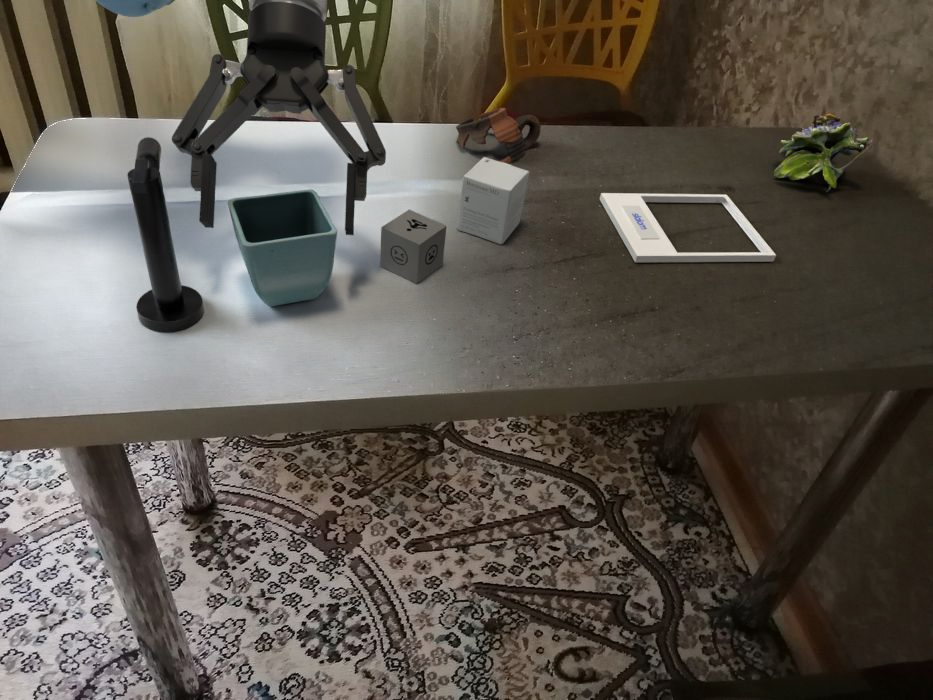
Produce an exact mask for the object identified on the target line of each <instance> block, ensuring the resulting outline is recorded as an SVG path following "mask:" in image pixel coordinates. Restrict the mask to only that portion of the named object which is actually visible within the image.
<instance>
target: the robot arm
mask: <svg viewBox="0 0 933 700" xmlns="http://www.w3.org/2000/svg"><path fill="white" fill-rule="evenodd" d="M175 1H176V0H95V2H96V3H98V4H99V5H100V6H102V7H103V8H104V9H106V10H108V11H109V12H112V13H113V14H116V15H118V16H123V17H127V18H139V17H140V18H141V17H144V16H147V15H149V14H151V13H153V12H155V11H157V10H160V9H162V8H164V7H165V6H170V5H171V4H172V3H174V2H175ZM248 8H249V10H250V11H249V13H248V17H247V18H248V19H247V20H248V21H247V38H246V54H245V57H244V59H243V61H242V62H239V61H234V60H227V59H225V57H224V56H223V54H220V53H216V54H214V55H213V56H212V57H211V60H210V61H211V62H210V67H209V72H208V76H207V78H206V79H205V81H204V82H203V84H202V86H201V88H200V89H199V91H198V93H197V94H196V96H195V97H194V99H193V101H192V103H191V104H190V106H189V108H188V109H187V110H186V113H185V114H184V115H183V118H182V119H181V121H180V122H179V124H178V126H177V127H176V129H175V131H174V133H173V134H172V136H171V141H172V143H173V144H174V146H175V147H176V148H177V150H178V151H179V152H180V153H182V154H187V155H189V156H191V161H190V179H189V183H190V185H191V188H192V189H193V190H194V191H195V192H200V198H199V199H200V200H199V217H198V218H199V219H198V220H199V222H200V223H201V225H202V226H203V227H204V228H207V229H208V228H209V229H214V226H215V207H216V205H215V204H216V185H217V184H216V183H217V166H218V165H217V164H218V163H217V161H216V160H215V158H214V156H213V155H214V154H215V153H216V151H218V150H219V149H220V148H221V147H222V146H223V144H224V143H226V141H228V140H229V139H230V138H231V136H233V135H234V133H236V131H237V130H238V129H240V128H241V127H242V126H243V124H245V123H246V122H247V121H248V120H249V119H250V118H251V117H252V116H255V115H257V113H258V112H259V111H260V110H261V109H262V108H264V109H266V110H268V112H269V113H279V112H288V113H290V114H295V115H297V114H299V115H302V112H305V111H307V110H308V111H309V112H310V113H311V114H312V115H313V117H314V118H315V119H316V121H318V122H319V123H320V124H321V126H323V128H324V129H325V131H326V132H327V133H328V134H329V135H330V137H331V138H332V140H333V141H334V142H335V143H336V144H337V146H338V147H339V148H340V149H341V151H342V152H343V153H344V154H345V156H346V157H347V158H348V159H349V161H350V162H347V163H346V186H345V187H346V192H345V213H344V214H345V215H344V230H345V235H346V236H354V231H355V229H354V228H355V207H356V202H357V201H358V202H365V201H366V198H367V188H368V171H369V170H370V169H371V168H373V167H376V166H377V167H381V166H383V165H385V163H386V159H387V150H386V148H385V147H384V144H383V142H382V140H381V137H380V135H379V133H378V131H377V129H376V127H375V124H374V123H373V120H372V118H371V116H370V114H369V111H368V109H367V106H366V104H365V103H364V101H363V99H362V96H361V94H360V92H359V89H358V87H357V79H356V69H355V67H354V66H353V65H352V64H345V65H344V66H343V67H342V69H328V68H327V66H326V40H327V39H326V38H327V26H326V23H325V22H326V20H327V15H328V13H327V11H328V0H248ZM239 77H242V79H243V81H244V82H245V84H246V86H245V87H244V88H243V89H242V90H241V91H240V92H239V93H238V96H237V98H236V99H235V100H234V101H233V102H232V103H231V104H230V105H229V106H228V107H227V108H226V109H224V111H223V112H221V114H220V115H219V116H218V117H217V118H216V119H215V120H214V121H213V122H211V124H210V125H208V127H206V124H207V123H208V121H209V120H210V118H211V116H212V115H213V113H214V111H215V110H216V108H217V106H218V105H219V103H220V102H221V100H222V99H223V97H224V94H225V92H226V90H227V86H229V85H230V86H231V85H233V83H234V82H235V80H236V79H237V78H239ZM329 84H330V85H333V86H334V87H335V89H336V91H337V92H338V93H339V94H344V98H345V102H346V104H347V107H348V109H349V111H350V113H351V115H352V118H353V120H354V122H355V124H356V126H357V129H358V131H359V133H360V135H361V137H362V139H363V141H364V143H365V145H366V148H367V151H364V150H363V148H362V147H361V146H360V144H359V143H358V142H357V140H356V139H355V137H353V135H352V134H351V133H350V132H349V131H348V129H347V128H346V127H345V126H344V124H343V123H342V122H341V120H340V119H339V118H338V117H337V115H336V114H335V113H334V111H333V110H332V109H331V107H330V106H329V105H328V104H327V102H326V100H325V98H323V96H322V95H321V94H322V93H323V92H324V91H325V90H326V88H327V87H329ZM205 127H206V129H204V128H205ZM203 129H204V131H203Z"/></svg>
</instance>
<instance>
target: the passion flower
mask: <svg viewBox="0 0 933 700" xmlns="http://www.w3.org/2000/svg"><path fill="white" fill-rule="evenodd" d="M841 120H842V117H841V116H835V114H831V113H827V114H826V115H825V116H824V115H821V114H817V113H816V114H814V115H813V119H812V121H811V123H812V125H813V126H808V127H807V128H803V127H801V129H802V130H801V131H795V133H793V134H792V135H791V138H790V139H789V140H783V139H782V140H780V144H781V145H782V147H781V148H780V150H779V151H778V154H782V153H784V152H786V151H787V152H786V153H785V156H784V157H785V159H784V160H783V161H782V162H781V163H780V164H779V165H778V166H777V167H776V168H775V169H774V171H773V177H774V176H776V177H777V178H776V179H783V178H784V179H785V178H787V179H789V180H791V181H798V180H803V179H806V178H808V177H811V176H813V175H816V174H818V173H819V172H821V171H822V176H823V178H824V181H826V183H827V184H828V187H827V189H826V191H825V193H826V192H827V193H828V192H829V191H830V190H831V189H832V188H833V189H836V188H837V180H838V178H839V177H840V176H842V174H844V172H845V170H846V169H847V168H848V167H850V166H851V165H852V164H853V163H854V162H855V161H856V160H858V159H859V158H860V157H861V156H863V155H864V154H866V153H867V152H868V151H869V150H870V149H872V148H873V147H872V146H873V141H874V139H873V138H872V139H870V138H869V137H864V138H858V133H859V131H858V129H857V128H856V127H854V126H853V125H852V124H851V122H849V121H848V122H845V123H841ZM855 139H856V141H855ZM869 140H870V141H869ZM853 151H857V152H858V154H857V155H856V156H855V157H854V158H852V159H851V160H850V161H849V162H848V163H846V164H845V165H844V166H841V167H835V166H834V165H833V163H832V161H833V159H834V158H835V157H836V156H837V155H839V154H842V155H845V156H852V155H853Z"/></svg>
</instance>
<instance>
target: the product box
mask: <svg viewBox="0 0 933 700" xmlns="http://www.w3.org/2000/svg"><path fill="white" fill-rule="evenodd" d="M499 161H500V160H495V159H492V158H490V157H486V156H483V157H482V158H481V159H480V160H479V161H478V162H477V163H476V164H475V165H474V166H473V167H472V168H471V169H470V170H468V171H467V173H465V174H464V175H463V178H462V188H461V194H460V202H459V211H458V219H457V220H458V221H457V230H458V231H460V232H464V233H467V234H470V235H473V236H476V237H478V238H481V239H485V240H487V241H489V242H492V243H495V244H498V245H504V244H505V242H506V241H507V239H508V238H509V237H510V235H511V234H512V233H513V232H514V231H515V229H516V228H517V227H518V226H519V225H520V223H521V218H522V212H523V209H524V203H525V198H526V193H527V186H528V181H529V176H530V171H529V170H526V169H524V168H521V167H517V166H514V165H512V164H507V163H503V162H499Z"/></svg>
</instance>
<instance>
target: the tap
mask: <svg viewBox="0 0 933 700" xmlns="http://www.w3.org/2000/svg"><path fill="white" fill-rule="evenodd" d="M161 159H162V146H161V143H160V142H159V140H157V139H156V138H153V137H150V136H149V137H144V138H142V139H140V140H139V142H138V144H137V149H136V155H135V161H134V167H133V168H132V169H130V170H129V171H128V172H127V174H126V175H127V180H128V185H129V190H130V195H131V199H132V200H131V201H132V204H133V209H134V213H135V217H136V222H137V227H138V231H139V236H140V241H141V245H142V251H143V254H144V259H145V264H146V268H147V269H146V270H147V274H148V278H149V283H150V286H151V289H150V290H148V291H146V292H145V293H143V294H142V295H141V296H140V297H139V298H138V300H137V302H136V307H135V308H136V313H137V316H138V320H139V322H140V323H141V325H142V326H144V327H145V328H147V329H149V330H152V331H155V332H159V333H160V332H161V333H172V332H173V333H174V332H178V331H183V330H185V329H188V328H190V327H192V326H194V325H195V324H197V323H198V322H199V321H200V320H201V318H202V317H203V315H204V312H205V309H204V300H203V297H202V295H201V294H200V292H199V291H197V290H196V289H194V287H193V288H192V287H190V286H188V285H183V284H182V283H181V278H180V273H179V268H178V267H179V266H178V262H177V256H176V251H175V246H174V240H173V234H172V229H171V224H170V219H169V212H168V208H167V207H168V206H167V203H166V197H165V196H166V195H165V192H164V185H163V179H162V176H161V175H162V174H161V171H160V169H161Z"/></svg>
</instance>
